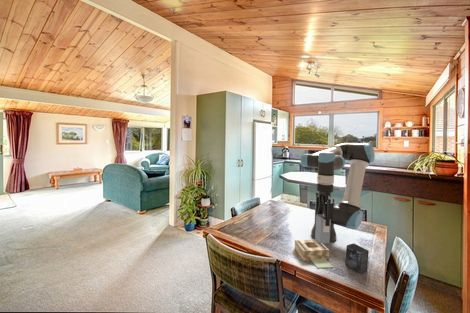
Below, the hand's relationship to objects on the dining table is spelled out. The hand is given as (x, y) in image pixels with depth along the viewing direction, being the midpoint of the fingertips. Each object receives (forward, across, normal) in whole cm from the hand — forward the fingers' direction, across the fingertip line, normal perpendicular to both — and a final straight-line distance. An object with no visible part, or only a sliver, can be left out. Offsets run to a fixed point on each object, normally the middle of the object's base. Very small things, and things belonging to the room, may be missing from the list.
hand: (322, 229), depth 109 cm
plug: (+6, 0, 0) cm, 6 cm away
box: (+18, +5, +15) cm, 24 cm away
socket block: (+18, -10, -1) cm, 20 cm away
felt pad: (+18, 0, 0) cm, 18 cm away
